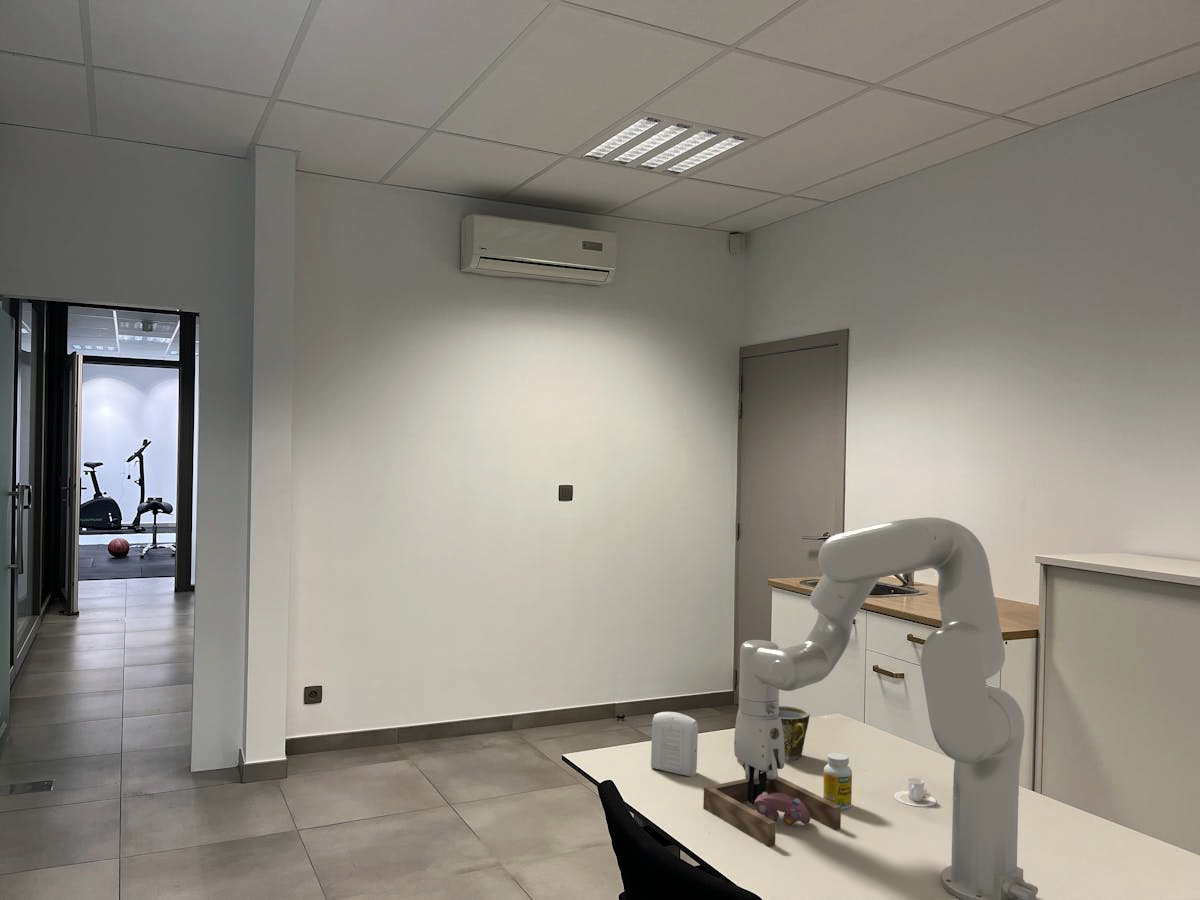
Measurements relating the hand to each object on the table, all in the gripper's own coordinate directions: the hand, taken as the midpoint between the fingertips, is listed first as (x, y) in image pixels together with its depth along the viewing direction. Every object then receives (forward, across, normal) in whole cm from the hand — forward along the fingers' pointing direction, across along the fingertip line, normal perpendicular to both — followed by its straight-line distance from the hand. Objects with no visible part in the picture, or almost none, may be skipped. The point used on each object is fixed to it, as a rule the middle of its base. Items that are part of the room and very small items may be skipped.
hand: (756, 802), depth 172 cm
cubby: (+2, -4, 0) cm, 4 cm away
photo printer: (+2, +25, +2) cm, 25 cm away
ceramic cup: (+2, +20, -26) cm, 33 cm away
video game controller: (+2, -7, -1) cm, 7 cm away
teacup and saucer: (+2, -11, -35) cm, 37 cm away
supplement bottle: (+2, -5, -16) cm, 17 cm away
